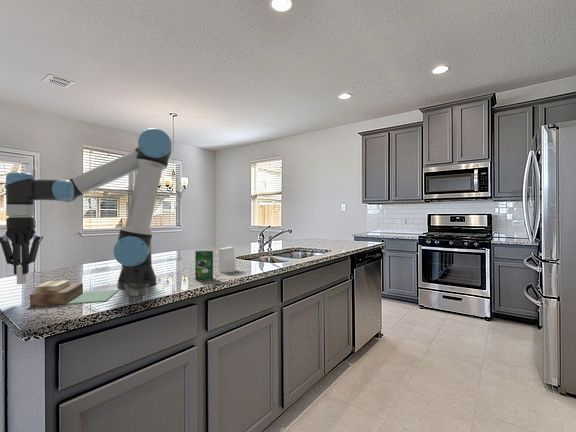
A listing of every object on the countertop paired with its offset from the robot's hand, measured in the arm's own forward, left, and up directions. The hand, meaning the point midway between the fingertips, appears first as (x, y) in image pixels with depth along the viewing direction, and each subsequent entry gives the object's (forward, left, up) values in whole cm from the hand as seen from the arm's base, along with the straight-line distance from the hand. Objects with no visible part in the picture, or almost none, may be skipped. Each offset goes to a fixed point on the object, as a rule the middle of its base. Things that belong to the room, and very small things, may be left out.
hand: (21, 283), depth 113 cm
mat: (-23, 0, -7) cm, 24 cm away
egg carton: (-37, -2, -7) cm, 38 cm away
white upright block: (-73, -37, -7) cm, 82 cm away
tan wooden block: (-11, 0, -7) cm, 13 cm away
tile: (-10, 0, -3) cm, 10 cm away
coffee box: (-62, -20, -7) cm, 66 cm away
